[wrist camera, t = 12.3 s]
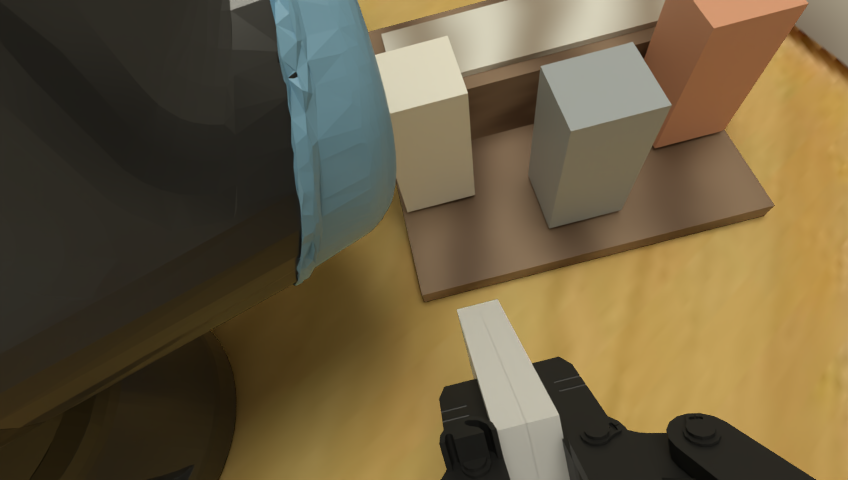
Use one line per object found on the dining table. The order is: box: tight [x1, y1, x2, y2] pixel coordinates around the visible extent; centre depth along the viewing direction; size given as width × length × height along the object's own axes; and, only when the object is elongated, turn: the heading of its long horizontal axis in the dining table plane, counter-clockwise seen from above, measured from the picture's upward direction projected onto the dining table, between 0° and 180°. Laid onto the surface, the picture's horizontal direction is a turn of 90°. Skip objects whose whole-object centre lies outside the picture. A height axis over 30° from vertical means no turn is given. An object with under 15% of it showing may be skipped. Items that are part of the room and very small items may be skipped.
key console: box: [368, 0, 775, 302], centre depth 30 cm, size 21×17×6 cm
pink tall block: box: [644, 0, 808, 148], centre depth 27 cm, size 4×4×9 cm
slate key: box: [528, 42, 672, 228], centre depth 25 cm, size 4×4×9 cm
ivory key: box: [375, 36, 475, 212], centre depth 27 cm, size 4×4×9 cm
